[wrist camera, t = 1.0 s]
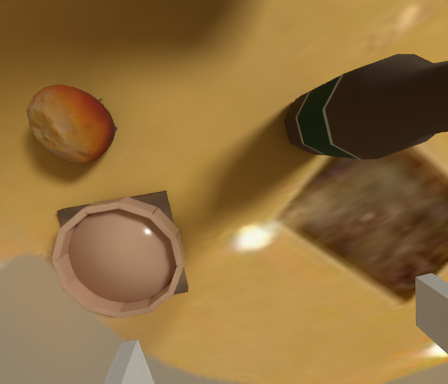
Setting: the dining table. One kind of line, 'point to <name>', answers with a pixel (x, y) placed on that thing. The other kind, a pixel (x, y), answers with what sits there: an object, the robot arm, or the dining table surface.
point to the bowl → (119, 257)
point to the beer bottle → (373, 109)
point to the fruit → (71, 123)
